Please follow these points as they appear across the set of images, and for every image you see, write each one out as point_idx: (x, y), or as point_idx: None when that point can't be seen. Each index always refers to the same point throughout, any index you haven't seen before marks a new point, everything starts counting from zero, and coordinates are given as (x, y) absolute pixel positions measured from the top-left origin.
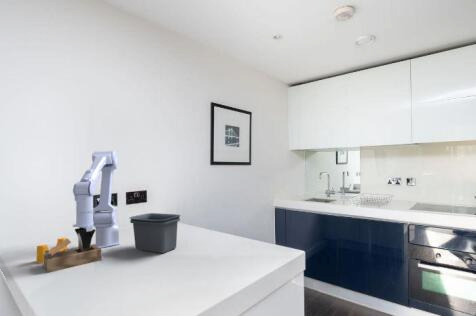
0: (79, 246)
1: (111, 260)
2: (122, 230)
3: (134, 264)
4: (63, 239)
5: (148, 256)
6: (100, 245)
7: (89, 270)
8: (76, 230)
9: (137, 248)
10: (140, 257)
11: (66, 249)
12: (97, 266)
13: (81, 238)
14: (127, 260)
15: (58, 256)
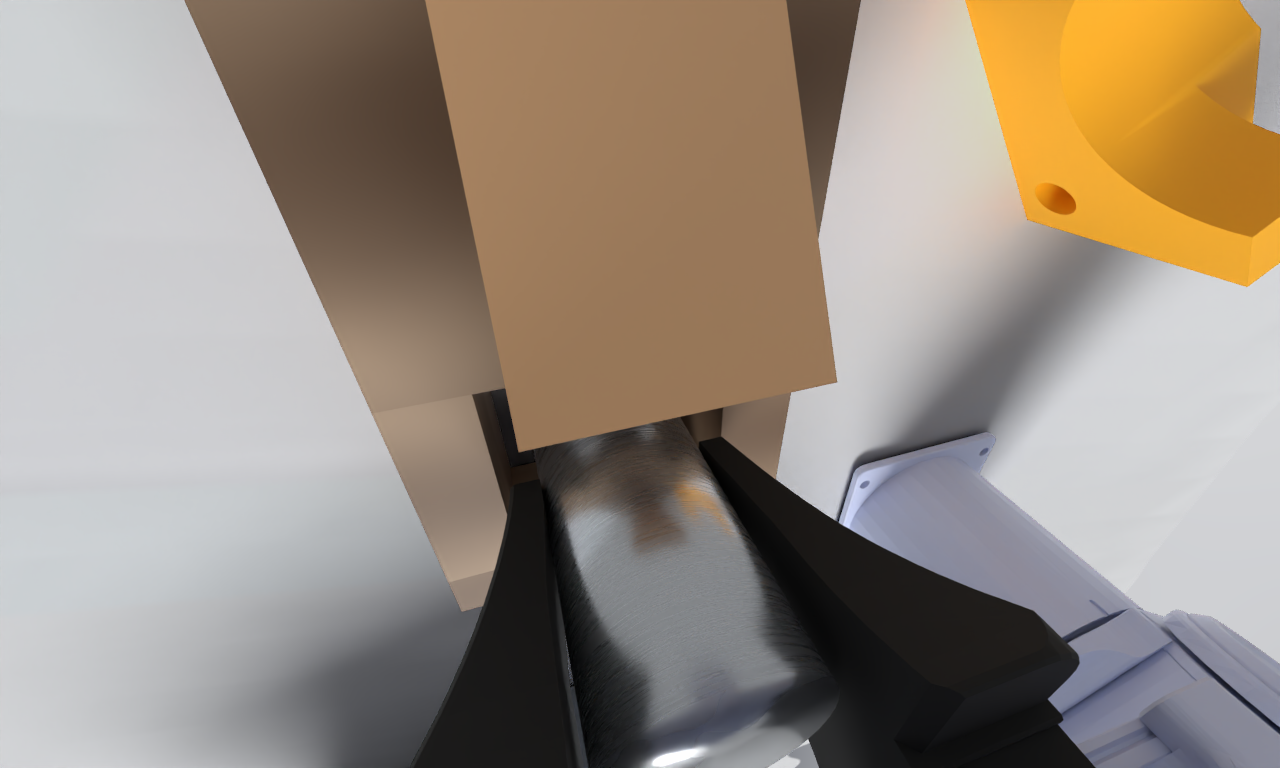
0: (591, 459)
1: (383, 578)
2: (1101, 560)
3: (114, 729)
4: (1242, 238)
5: (329, 756)
6: (883, 494)
7: (46, 431)
8: (918, 692)
9: (571, 694)
10: (335, 725)
11: (1064, 228)
12: (211, 495)
13: (486, 662)
14: (296, 673)
15: (429, 61)
